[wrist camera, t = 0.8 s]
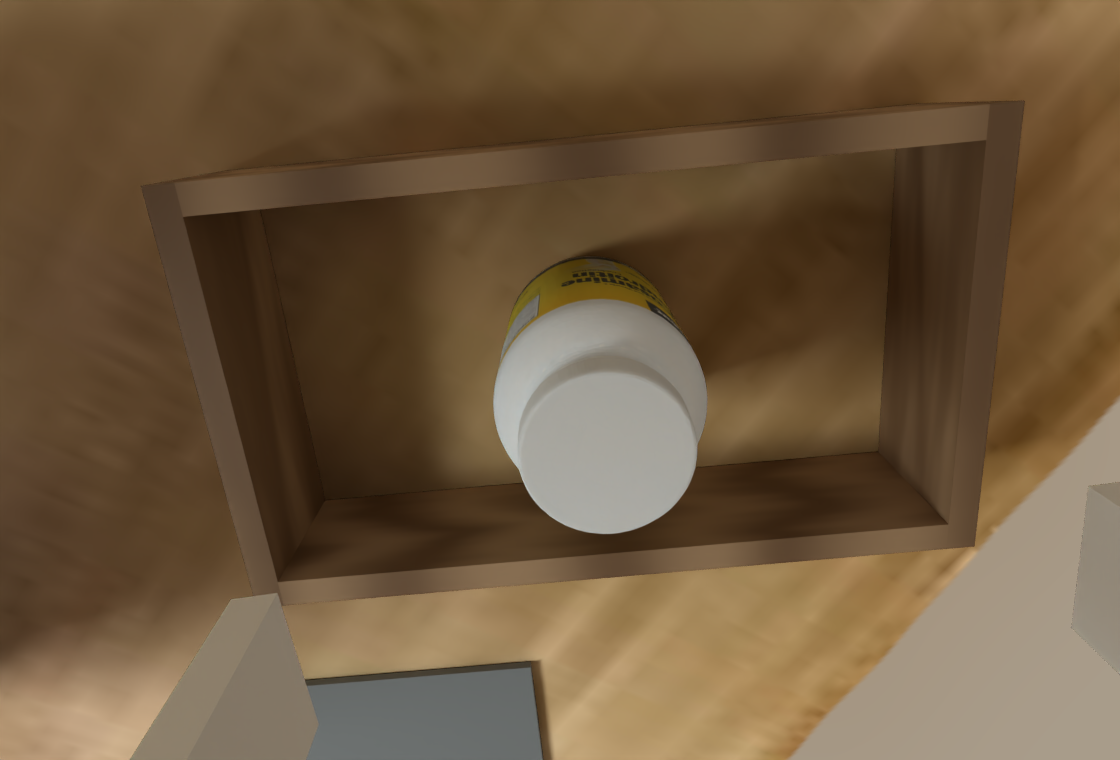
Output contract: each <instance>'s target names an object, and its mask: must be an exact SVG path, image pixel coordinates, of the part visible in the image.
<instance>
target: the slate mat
mask: <svg viewBox="0 0 1120 760" xmlns="http://www.w3.org/2000/svg"><path fill="white" fill-rule="evenodd" d="M305 682H306V686H307V689H308V692H309V695H310V698H311V701H312V705H313V708H314V711H315V714H316V717H317V720H318V724H319V725H318V728H317V731H316V733H315V736H314V739H313V742H312V744H311V747H310V750H309V753H308V756H307V758H306V760H543V753H542V745H541V737H540V730H539V722H538V714H537V706H536V699H535V691H534V683H533V675H532V668H531V662H519V663H507V664H495V665H483V666H471V667H460V668H448V669H436V670H424V671H412V672H400V673H388V674H376V675H364V676H352V677H340V678H328V679H316V680H305Z"/></svg>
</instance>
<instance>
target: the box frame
mask: <svg viewBox="0 0 1120 760" xmlns="http://www.w3.org/2000/svg"><path fill="white" fill-rule="evenodd" d="M1024 102H1025V101H991V102H952V103H923V104H912V105H902V106H891V107H881V108H871V109H860V110H850V111H840V112H829V113H819V114H809V115H798V116H788V117H778V118H767V119H757V120H747V121H736V122H726V123H715V124H705V125H695V126H684V127H674V128H664V129H653V130H643V131H633V132H622V133H612V134H602V135H591V136H581V137H571V138H560V139H550V140H539V141H529V142H519V143H508V144H498V145H488V146H477V147H467V148H457V149H446V150H436V151H426V152H415V153H405V154H395V155H384V156H374V157H364V158H353V159H343V160H332V161H322V162H312V163H301V164H291V165H281V166H270V167H260V168H250V169H239V170H229V171H221V172H216V173H210V174H204V175H199V176H193V177H188V178H182V179H176V180H171V181H165V182H160V183H154V184H148V185H143V186H141V188H142V192H143V196H144V199H145V203H146V207H147V210H148V214H149V217H150V221H151V225H152V228H153V232H154V236H155V239H156V243H157V247H158V250H159V254H160V257H161V261H162V265H163V268H164V272H165V276H166V279H167V283H168V287H169V290H170V294H171V298H172V301H173V305H174V308H175V312H176V316H177V319H178V323H179V327H180V330H181V334H182V338H183V341H184V345H185V349H186V352H187V356H188V359H189V363H190V367H191V370H192V374H193V378H194V381H195V385H196V389H197V392H198V396H199V400H200V403H201V407H202V410H203V414H204V418H205V421H206V425H207V429H208V432H209V436H210V440H211V443H212V447H213V450H214V454H215V458H216V461H217V465H218V469H219V472H220V476H221V480H222V483H223V487H224V491H225V494H226V498H227V501H228V505H229V509H230V512H231V516H232V520H233V523H234V527H235V531H236V534H237V538H238V542H239V545H240V549H241V552H242V556H243V560H244V563H245V567H246V571H247V574H248V578H249V582H250V585H251V589H252V593H253V596H259V595H266V594H274V593H277V594H278V597H279V600H280V603H281V606H282V605H294V604H306V603H317V602H329V601H341V600H353V599H364V598H376V597H388V596H399V595H411V594H423V593H434V592H446V591H458V590H470V589H481V588H493V587H505V586H516V585H528V584H540V583H552V582H563V581H575V580H587V579H598V578H610V577H622V576H634V575H645V574H657V573H669V572H680V571H692V570H704V569H716V568H727V567H739V566H751V565H762V564H774V563H786V562H798V561H809V560H821V559H833V558H844V557H856V556H868V555H879V554H891V553H903V552H915V551H926V550H938V549H950V548H961V547H973V546H975V537H976V528H977V519H978V510H979V501H980V493H981V484H982V475H983V466H984V457H985V448H986V439H987V430H988V422H989V413H990V404H991V395H992V386H993V377H994V368H995V359H996V351H997V342H998V333H999V324H1000V315H1001V306H1002V297H1003V289H1004V280H1005V271H1006V262H1007V253H1008V244H1009V235H1010V226H1011V218H1012V209H1013V200H1014V191H1015V182H1016V173H1017V164H1018V155H1019V147H1020V138H1021V129H1022V120H1023V111H1024ZM887 149H896V159H895V176H894V193H893V210H892V227H891V244H890V261H889V278H888V295H887V312H886V329H885V346H884V363H883V380H882V397H881V414H880V430H879V447H878V452H869V453H858V454H847V455H835V456H824V457H813V458H801V459H790V460H778V461H767V462H756V463H744V464H733V465H722V466H710V467H699V468H695V471H694V474H693V477H692V479H691V482H690V484H689V486H688V488H687V489H686V491H685V492H684V494H683V495H682V497H681V498H680V499H679V501H678V502H677V503H676V504H675V505H674V506H673V507H672V508H671V509H670V510H669V511H668V512H666V513H665V514H664V515H662V516H661V517H660V518H658V519H656V520H654V521H652V522H651V523H649V524H647V525H644V526H642V527H639V528H637V529H634V530H631V531H626V532H622V533H614V534H598V533H589V532H584V531H580V530H576V529H574V528H571V527H568V526H565V525H564V524H562V523H560V522H558V521H557V520H555V519H553V518H552V517H550V516H549V515H548V514H547V513H546V512H545V511H543V510H542V509H541V508H540V507H539V506H538V505H537V504H536V503H535V501H534V500H533V499H532V497H531V496H530V494H529V492H528V491H527V489H526V487H525V485H524V483H517V484H506V485H494V486H483V487H472V488H460V489H449V490H437V491H426V492H415V493H403V494H392V495H381V496H369V497H358V498H346V499H335V500H325V497H324V493H323V488H322V484H321V480H320V475H319V471H318V466H317V462H316V457H315V453H314V448H313V444H312V439H311V435H310V430H309V426H308V422H307V417H306V413H305V408H304V404H303V399H302V395H301V390H300V386H299V381H298V377H297V372H296V368H295V364H294V359H293V355H292V350H291V346H290V341H289V337H288V332H287V328H286V323H285V319H284V314H283V310H282V306H281V301H280V297H279V292H278V288H277V283H276V279H275V274H274V270H273V265H272V261H271V256H270V252H269V248H268V243H267V239H266V234H265V230H264V225H263V221H262V216H261V212H260V209H270V208H280V207H291V206H301V205H312V204H322V203H333V202H343V201H354V200H364V199H374V198H385V197H395V196H406V195H416V194H427V193H437V192H448V191H458V190H469V189H479V188H490V187H500V186H511V185H521V184H532V183H542V182H552V181H563V180H573V179H584V178H594V177H605V176H615V175H626V174H636V173H647V172H657V171H668V170H678V169H689V168H699V167H709V166H720V165H730V164H741V163H751V162H762V161H772V160H783V159H793V158H804V157H814V156H825V155H835V154H846V153H856V152H866V151H877V150H887Z"/></svg>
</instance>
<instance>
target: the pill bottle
mask: <svg viewBox="0 0 1120 760" xmlns="http://www.w3.org/2000/svg"><path fill="white" fill-rule="evenodd" d="M493 405H494V417H495V423H496V428H497V431H498V434H499V437H500V440H501V442H502V444H503V446H504V448H505V450H506V452H507V454H508V455H509V457H510V458H511V460H512V461H513V463H514V464H515V465H516V466H517V468H518V469H519V471H520V474H521V477H522V480H523V482H524V485H525V487H526V489H527V491H528V492H529V494H530V496H531V497H532V499H533V500H534V501H535V503H536V504H537V505H538V506H539V507H540V508H541V509H542V510H543V511H545V512H546V513H547V514H548V515H549V516H550V517H552V518H553V519H555V520H557V521H558V522H560V523H562V524H564V525H565V526H568V527H571V528H574V529H576V530H580V531H584V532H589V533H598V534H614V533H622V532H626V531H631V530H634V529H637V528H639V527H642V526H644V525H647V524H649V523H651V522H652V521H654V520H656V519H658V518H660V517H661V516H662V515H664V514H665V513H666V512H668V511H669V510H670V509H671V508H672V507H673V506H674V505H675V504H676V503H677V502H678V501H679V499H680V498H681V497H682V495H683V494H684V492H685V491H686V489H687V488H688V486H689V484H690V482H691V479H692V477H693V474H694V471H695V467H696V461H697V444H698V442H699V440H700V437H701V435H702V432H703V429H704V425H705V420H706V414H707V388H706V382H705V378H704V374H703V371H702V368H701V366H700V363H699V361H698V359H697V357H696V355H695V353H694V351H693V349H692V347H691V345H690V344H689V342H688V340H687V339H686V337H685V335H684V334H683V332H682V330H681V329H680V327H679V326H678V324H677V322H676V321H675V319H674V317H673V315H672V313H671V312H670V310H669V308H668V307H667V305H666V303H665V302H664V300H663V298H662V297H661V295H660V293H659V292H658V290H657V289H656V288H655V287H654V285H653V284H652V283H651V282H650V281H649V280H648V279H647V278H646V277H645V276H644V275H642V274H641V273H640V272H638V271H637V270H635V269H634V268H632V267H630V266H628V265H626V264H624V263H622V262H620V261H617V260H613V259H610V258H605V257H597V256H583V257H576V258H571V259H567V260H564V261H561V262H558V263H556V264H554V265H552V266H550V267H548V268H547V269H545V270H544V271H542V272H541V273H540V274H538V275H537V276H536V277H535V278H534V279H533V280H531V282H530V283H529V284H528V285H527V286H526V287H525V289H524V290H523V291H522V293H521V294H520V296H519V297H518V299H517V301H516V303H515V305H514V308H513V310H512V313H511V316H510V320H509V325H508V329H507V334H506V338H505V342H504V346H503V350H502V354H501V359H500V364H499V368H498V373H497V377H496V382H495V387H494V402H493Z"/></svg>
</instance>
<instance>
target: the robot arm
mask: <svg viewBox="0 0 1120 760" xmlns="http://www.w3.org/2000/svg"><path fill="white" fill-rule="evenodd" d="M1071 628H1072V629H1073V630H1074V631H1075V632H1076V633H1077V634H1078V635H1079V636H1080V637H1081V638H1082V639H1083V640H1085V642H1087V644H1089V646H1091V647H1092V648H1093V649H1094V650H1095V651H1096V652H1097V653H1098V654H1099V655H1100V656H1101V657H1102V658H1103V659H1104V660H1105V661H1106V662H1107V663H1108V664H1109V665H1110V666H1111V667H1112V668H1113V669H1114V670H1115V671H1116V672H1117V673H1118V674H1120V482H1115V483H1108V484H1100V485H1093V486H1088V493H1087V502H1086V510H1085V518H1084V527H1083V535H1082V543H1081V551H1080V561H1079V568H1078V576H1077V585H1076V593H1075V601H1074V609H1073V618H1072V626H1071ZM318 725H319V724H318V720H317V717H316V714H315V711H314V708H313V705H312V701H311V698H310V695H309V692H308V689H307V686H306V682H305V679H304V676H303V673H302V670H301V666H300V663H299V660H298V657H297V654H296V651H295V647H294V644H293V641H292V638H291V635H290V632H289V628H288V625H287V622H286V619H285V616H284V613H283V609H282V606H281V603H280V600H279V597H278V594H277V593H274V594H266V595H259V596H251V597H244V598H236V599H231V600H230V602H229V603H228V605H227V606H226V608H225V610H224V611H223V613H222V614H221V616H220V618H219V619H218V621H217V622H216V624H215V625H214V627H213V629H212V630H211V632H210V633H209V635H208V637H207V638H206V640H205V641H204V643H203V644H202V646H201V648H200V649H199V651H198V652H197V654H196V656H195V657H194V659H193V660H192V662H191V663H190V665H189V667H188V668H187V670H186V671H185V673H184V675H183V676H182V678H181V679H180V681H179V682H178V684H177V686H176V687H175V689H174V690H173V692H172V694H171V695H170V697H169V698H168V700H167V701H166V703H165V705H164V706H163V708H162V709H161V711H160V713H159V714H158V716H157V717H156V719H155V720H154V722H153V724H152V725H151V727H150V728H149V730H148V732H147V733H146V735H145V736H144V738H143V739H142V741H141V743H140V744H139V746H138V747H137V749H136V751H135V752H134V754H133V755H132V757H131V758H130V760H306V758H307V756H308V753H309V750H310V747H311V744H312V742H313V739H314V736H315V733H316V731H317V728H318Z"/></svg>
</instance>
